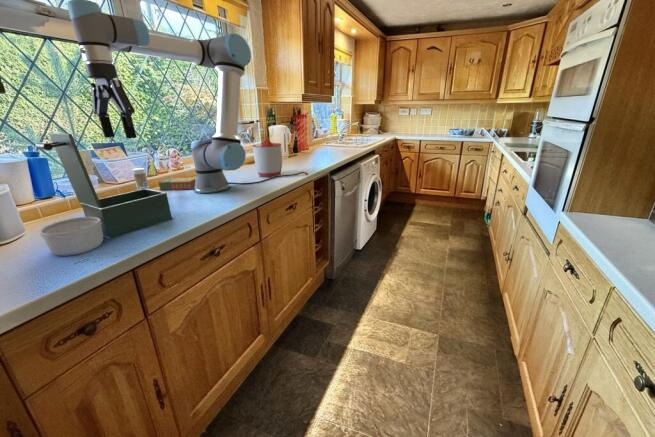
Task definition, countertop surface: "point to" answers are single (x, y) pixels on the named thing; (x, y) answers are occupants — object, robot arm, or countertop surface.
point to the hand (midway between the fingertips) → (120, 137)
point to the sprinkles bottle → (140, 178)
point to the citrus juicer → (268, 158)
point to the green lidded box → (130, 211)
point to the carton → (177, 183)
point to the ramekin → (73, 235)
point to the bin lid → (73, 167)
